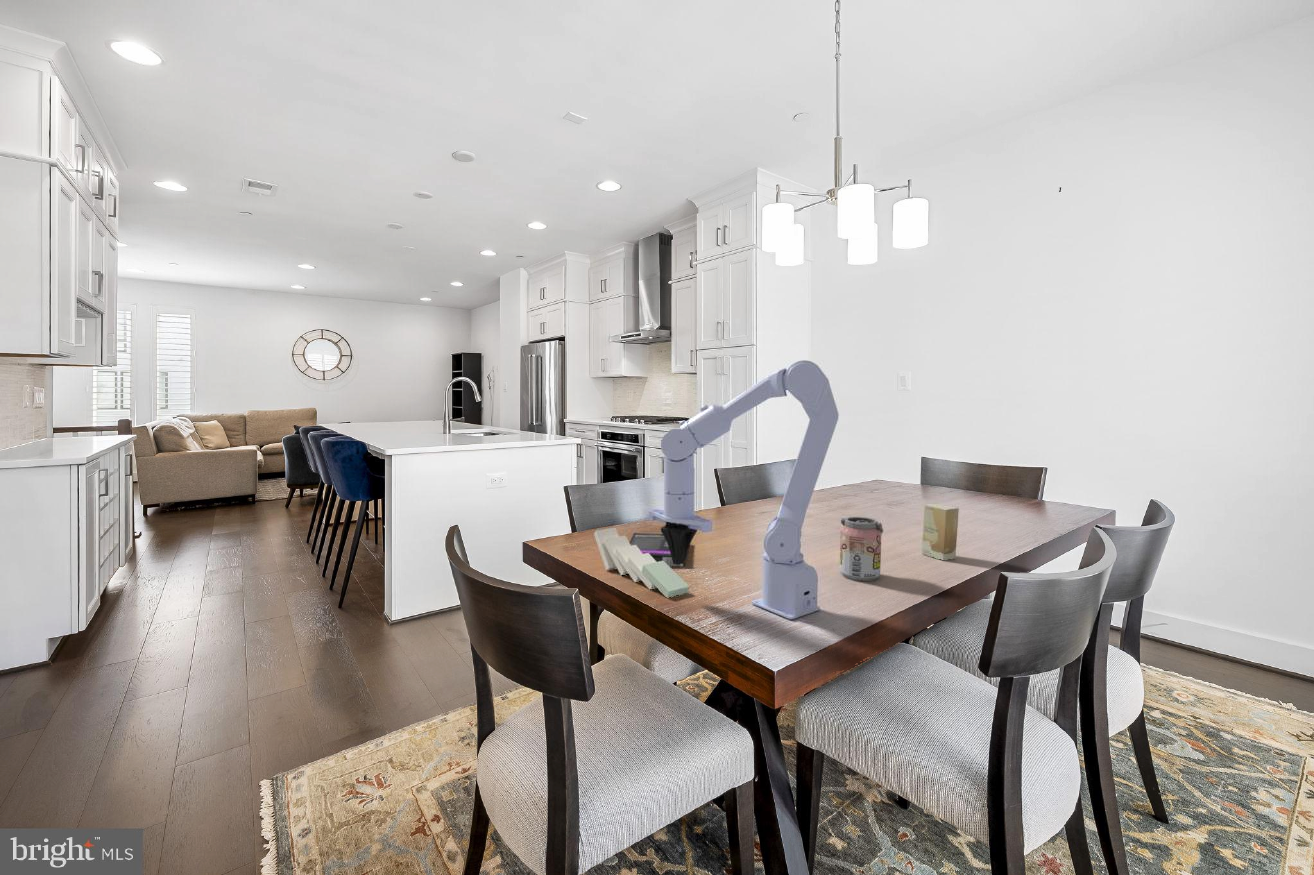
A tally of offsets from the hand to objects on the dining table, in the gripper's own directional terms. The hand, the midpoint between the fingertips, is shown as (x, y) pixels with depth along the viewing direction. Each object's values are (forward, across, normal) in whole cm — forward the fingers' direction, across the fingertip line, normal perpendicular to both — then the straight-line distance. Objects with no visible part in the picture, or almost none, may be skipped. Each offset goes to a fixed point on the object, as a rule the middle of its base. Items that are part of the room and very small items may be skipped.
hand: (679, 563), depth 106 cm
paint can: (+7, -19, -37) cm, 42 cm away
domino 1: (+6, +21, -2) cm, 22 cm away
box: (+7, +23, -17) cm, 30 cm away
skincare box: (+7, -26, -63) cm, 68 cm away
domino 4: (+6, +5, -1) cm, 8 cm away
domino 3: (+6, +11, -2) cm, 12 cm away
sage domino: (+6, 0, 0) cm, 6 cm away
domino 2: (+6, +16, -2) cm, 17 cm away
